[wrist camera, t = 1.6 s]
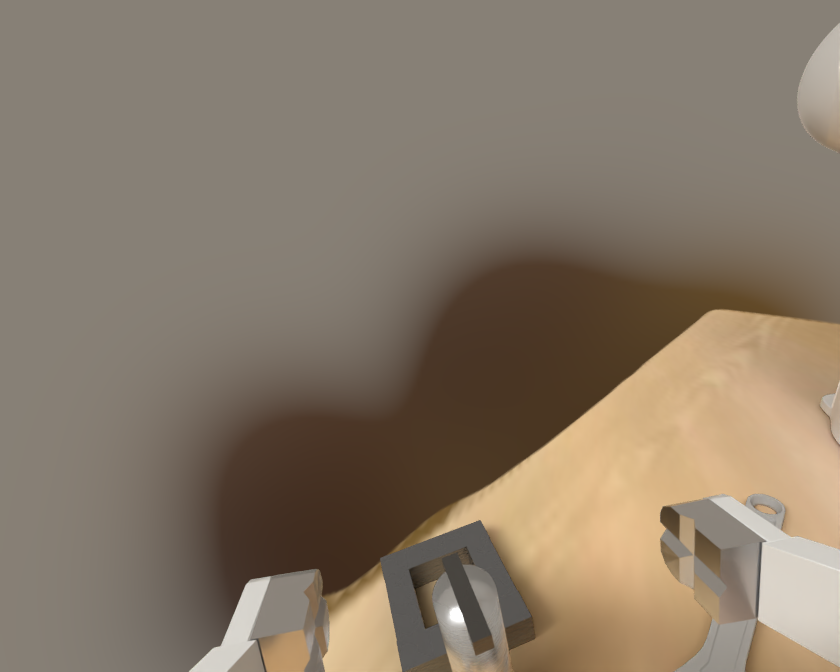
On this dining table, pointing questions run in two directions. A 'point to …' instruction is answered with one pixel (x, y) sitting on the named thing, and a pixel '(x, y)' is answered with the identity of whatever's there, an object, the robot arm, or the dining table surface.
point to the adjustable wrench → (730, 643)
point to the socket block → (423, 564)
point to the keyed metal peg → (470, 618)
